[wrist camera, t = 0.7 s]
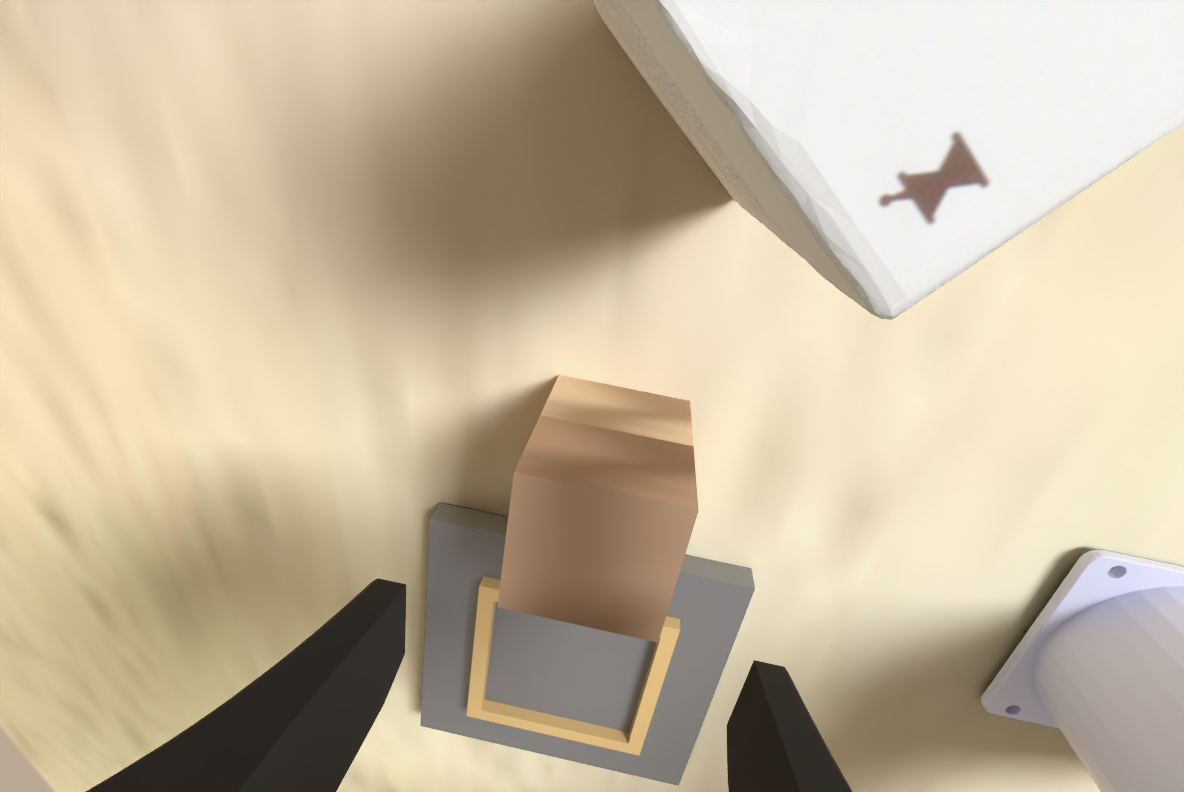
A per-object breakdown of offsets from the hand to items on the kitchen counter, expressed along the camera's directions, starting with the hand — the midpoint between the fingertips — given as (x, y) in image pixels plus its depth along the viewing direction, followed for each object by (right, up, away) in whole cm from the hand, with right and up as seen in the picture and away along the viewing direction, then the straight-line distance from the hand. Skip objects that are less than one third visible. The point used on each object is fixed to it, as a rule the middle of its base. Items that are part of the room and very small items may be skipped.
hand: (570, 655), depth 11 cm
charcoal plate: (0, -5, +12) cm, 13 cm away
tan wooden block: (+1, +4, +8) cm, 9 cm away
